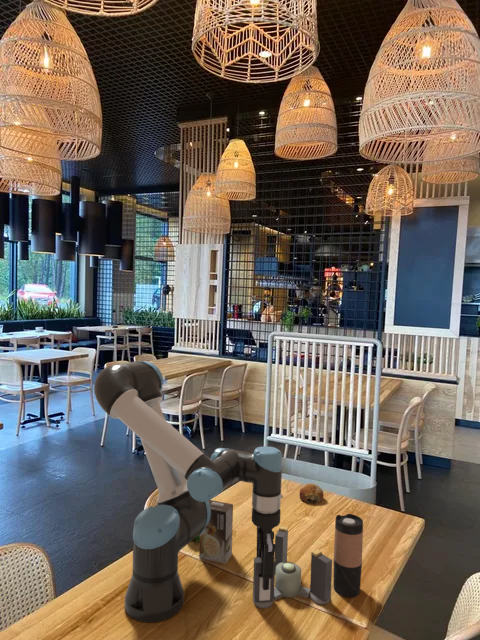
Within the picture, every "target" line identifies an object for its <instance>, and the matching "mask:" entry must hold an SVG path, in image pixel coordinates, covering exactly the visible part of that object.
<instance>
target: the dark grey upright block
mask: <svg viewBox="0 0 480 640" xmlns="http://www.w3.org/2000/svg"><path fill="white" fill-rule="evenodd" d="M258 574H261V557H253V576H252V577H253V579H252V580H253V581H252V582H253V583H252V599H253V601H252V602H253V605H254V606H256V608H259V609H269V608H271V607H272V605H273V603H274V602H275V600H274V588H275V578H276V574H275V557H274V566H273V579H271V581H270V600H263V601H260V600H259V588H260V578H259V577H258Z"/></svg>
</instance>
